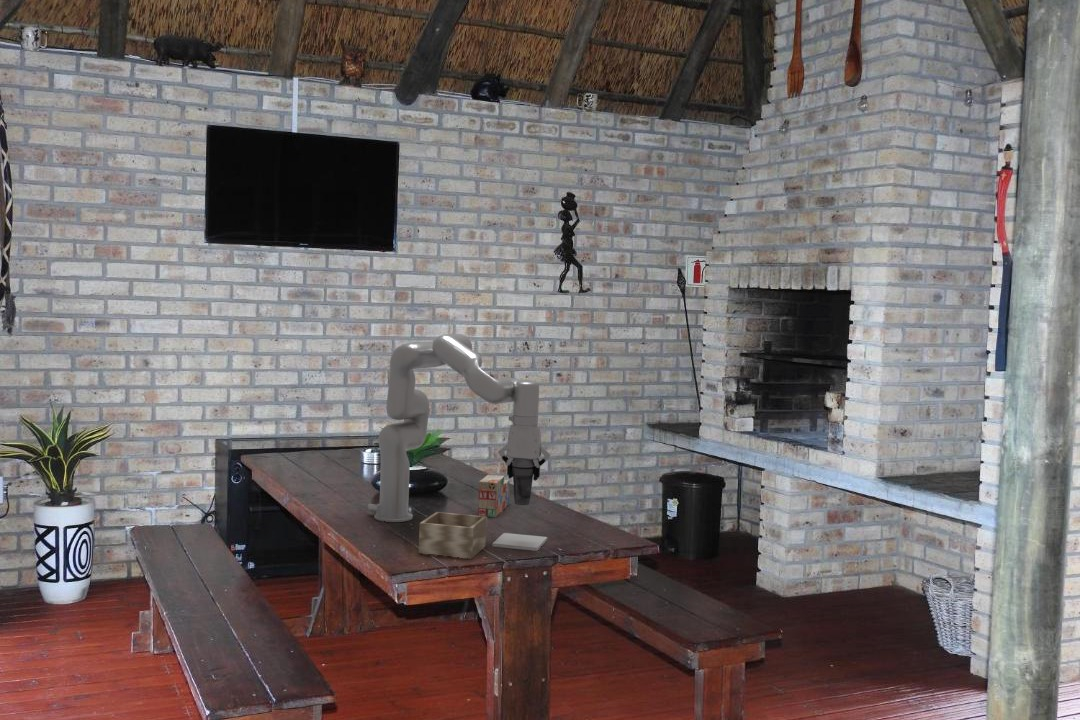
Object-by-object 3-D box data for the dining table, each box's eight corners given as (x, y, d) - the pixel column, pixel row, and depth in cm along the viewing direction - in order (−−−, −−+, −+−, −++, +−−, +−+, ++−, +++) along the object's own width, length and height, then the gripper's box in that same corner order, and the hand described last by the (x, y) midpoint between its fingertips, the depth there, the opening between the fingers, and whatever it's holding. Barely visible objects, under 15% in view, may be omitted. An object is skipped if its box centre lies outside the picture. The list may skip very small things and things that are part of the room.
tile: (492, 546, 328) (492, 543, 327) (503, 535, 341) (503, 532, 341) (537, 551, 325) (537, 547, 324) (547, 540, 338) (547, 537, 338)
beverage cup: (509, 500, 335) (511, 436, 334) (532, 501, 336) (535, 437, 334) (510, 506, 328) (513, 440, 326) (534, 506, 329) (537, 441, 327)
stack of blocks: (491, 503, 388) (493, 469, 387) (509, 505, 387) (510, 471, 386) (477, 516, 367) (479, 480, 366) (495, 518, 366) (497, 482, 365)
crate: (418, 553, 316) (419, 523, 315) (435, 540, 331) (436, 511, 331) (471, 558, 312) (472, 528, 312) (485, 545, 328) (487, 516, 327)
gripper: (494, 420, 328) (492, 478, 329) (550, 424, 324) (548, 483, 326) (500, 417, 335) (498, 474, 337) (555, 421, 332) (553, 478, 333)
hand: (523, 478), depth 331 cm, fingers closed on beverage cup, 7 cm apart
